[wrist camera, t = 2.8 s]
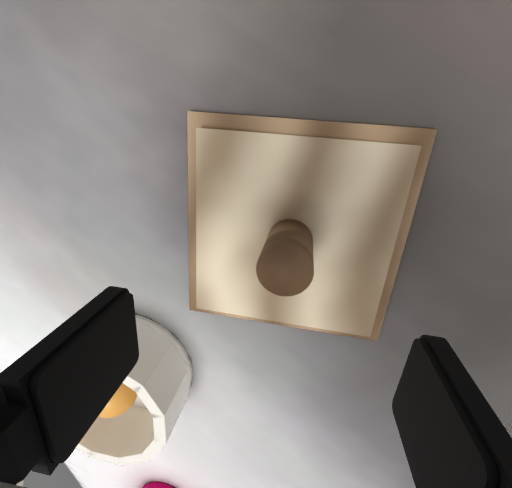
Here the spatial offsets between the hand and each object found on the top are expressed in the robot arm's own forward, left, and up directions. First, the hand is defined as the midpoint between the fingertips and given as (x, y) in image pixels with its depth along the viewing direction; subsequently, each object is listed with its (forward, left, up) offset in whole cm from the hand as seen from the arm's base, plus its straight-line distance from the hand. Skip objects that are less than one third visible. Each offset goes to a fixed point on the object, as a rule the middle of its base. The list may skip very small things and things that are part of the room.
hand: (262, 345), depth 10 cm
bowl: (+14, +16, -13) cm, 25 cm away
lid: (0, 0, -13) cm, 13 cm away
